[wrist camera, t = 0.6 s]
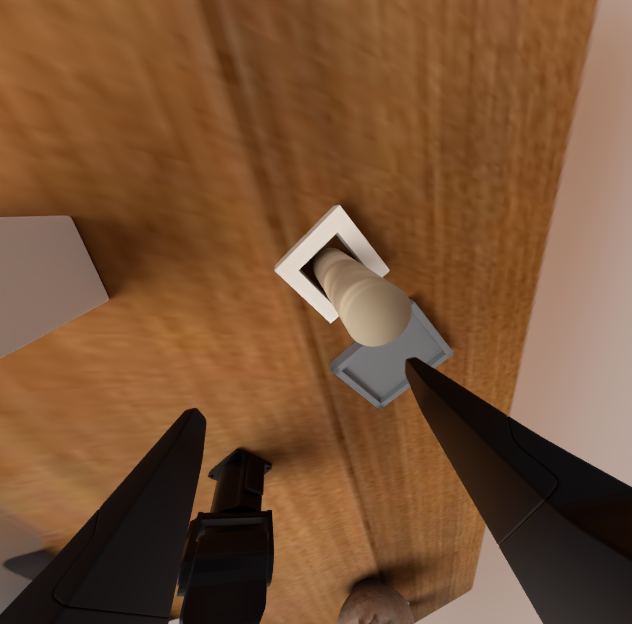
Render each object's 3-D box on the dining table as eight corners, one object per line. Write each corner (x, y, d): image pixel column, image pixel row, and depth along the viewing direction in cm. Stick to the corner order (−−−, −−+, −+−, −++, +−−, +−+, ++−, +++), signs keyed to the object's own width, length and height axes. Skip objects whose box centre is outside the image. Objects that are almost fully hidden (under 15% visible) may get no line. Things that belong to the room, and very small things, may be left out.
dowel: (328, 289, 23) (372, 357, 12) (305, 265, 22) (332, 319, 11) (353, 265, 23) (423, 316, 12) (331, 239, 21) (388, 270, 10)
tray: (375, 401, 31) (379, 410, 30) (329, 363, 27) (331, 371, 26) (445, 346, 29) (454, 353, 28) (407, 297, 25) (414, 302, 24)
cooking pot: (317, 583, 55) (327, 677, 44) (389, 555, 54) (417, 642, 44) (345, 609, 66) (359, 689, 55) (405, 585, 65) (431, 661, 54)
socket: (326, 315, 24) (330, 323, 23) (274, 265, 21) (274, 270, 20) (381, 266, 23) (390, 270, 21) (334, 205, 20) (339, 204, 18)
